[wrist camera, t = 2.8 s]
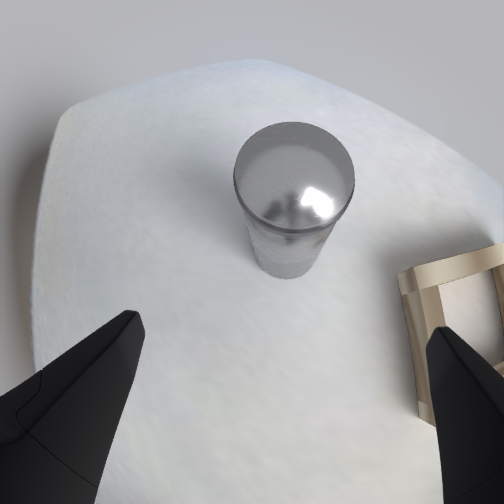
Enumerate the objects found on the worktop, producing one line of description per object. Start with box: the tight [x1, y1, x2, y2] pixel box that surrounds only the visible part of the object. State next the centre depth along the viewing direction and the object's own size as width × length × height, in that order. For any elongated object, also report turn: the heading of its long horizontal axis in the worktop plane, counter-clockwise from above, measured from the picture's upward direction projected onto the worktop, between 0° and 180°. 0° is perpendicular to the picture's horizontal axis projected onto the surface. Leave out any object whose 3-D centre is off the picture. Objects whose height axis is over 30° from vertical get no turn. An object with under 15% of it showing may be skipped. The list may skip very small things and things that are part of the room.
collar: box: [397, 243, 504, 427], centre depth 17 cm, size 11×11×3 cm
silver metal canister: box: [233, 122, 355, 279], centre depth 16 cm, size 5×5×11 cm
